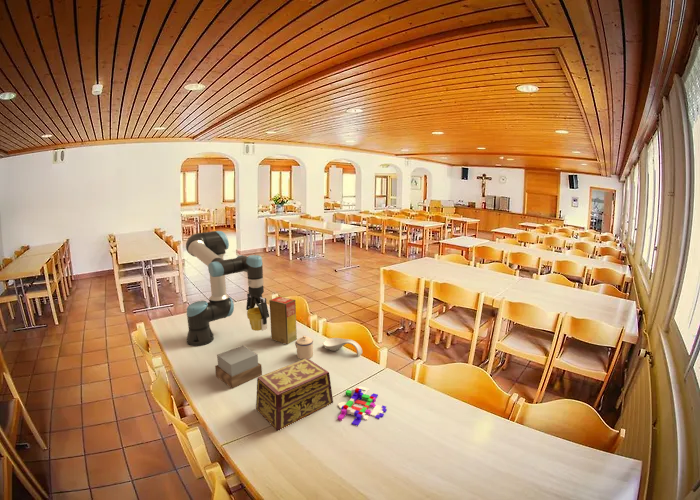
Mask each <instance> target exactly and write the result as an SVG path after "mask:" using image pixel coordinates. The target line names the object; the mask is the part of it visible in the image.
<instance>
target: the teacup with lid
mask: <svg viewBox="0 0 700 500" xmlns="http://www.w3.org/2000/svg"><path fill="white" fill-rule="evenodd" d="M294 344H295V347H296V356H297V359H300V360H303V359H306V358H308V359H309V360H311V358H313V356H314V346H313V345H314V339H313V338H311V337H309V336H307V335H302V337H299V338H297V339H296V340H295V342H294Z"/></svg>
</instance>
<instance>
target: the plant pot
mask: <svg viewBox="0 0 700 500" xmlns="http://www.w3.org/2000/svg"><path fill="white" fill-rule="evenodd" d="M246 315H247V319H248V321H249V325H250V328H251V330H252V331H255V332H256V331H257V332H259V331H262V327H261V318H262V316H261V313H260V311H259V308H258V306H255V307H254V308H252V309H249V310H246ZM263 316H264V315H263Z"/></svg>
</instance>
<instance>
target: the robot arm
mask: <svg viewBox="0 0 700 500" xmlns="http://www.w3.org/2000/svg"><path fill="white" fill-rule="evenodd" d="M229 246H230V245H229V239H228V237H227V235H226V233H225V232H224V231H223V230H212V231H206V232H198V233H194V234H192V235H190V236H189V237H188V239H187V241H186V243H185V250H186V251H187V253H188V254H189V255H190V256H192V257H196V258H197V259H198V260H199V261H200V262H202V263H203V264H204V265H205V266H206V267H208V269H207V271H208V273H209V282H210V292H211V295H210V297H209V301H206V300H198V301H193V302H192V303H191V304H189V305H187V307H186V318H187V326H188V328H187V329H188V331H187V336H186V344H187V346H190V347H201V346H205V345H207V344H211V343H212V342H213V341H214V339H215V338H214V336H215V335H214V333H213V331H212V329H211V326H210V323H211V322H214V321H218V320H222V319H226V318H228V317H230V316H232V315H233V313H234V309H235V304H234V300H233V298H232V297H230V295H229V294H227V285H226V276H228V275H232V274H238V273H242V272H245V273H247V285H248V293H246V294H247V295H246V296H247V299H246V306H245V309H246V311H248V310H249V309H252V308H255V307H258V308H259V311H260V313H261V316H262V318H261V327H262V330H261V331H265V330H268V325H267V324H268V318H270V311H269V309H268V304H267V298H266V297H263V294H264V289H265V288H264V287H265V286H264V272H263V271H264V270H263V257H262V256H261V255H259V254H252V255H251V254H250V255H238V256H236V257H234V258H229V259H224V256H225V255H226V253H227V251H226V250H228V249H229ZM263 315H264V316H263Z"/></svg>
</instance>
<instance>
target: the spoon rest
mask: <svg viewBox="0 0 700 500" xmlns="http://www.w3.org/2000/svg"><path fill="white" fill-rule="evenodd" d="M347 344H350V345H352V346H353V347H354V348H355V350H356V356H357V357H360V356H361V355H362V354H363V348H362V347H361V345H360V344H359V343H358V342H357V341H355V340H353V339H351V338H350V339H349V338H340V337H331V338H327V339H325V340H324V341H323V342H322V346H323V347H324V348H325V349H327V350H330V351H338V350H340V349H341V348H342V347H343V346H344V345H347Z"/></svg>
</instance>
